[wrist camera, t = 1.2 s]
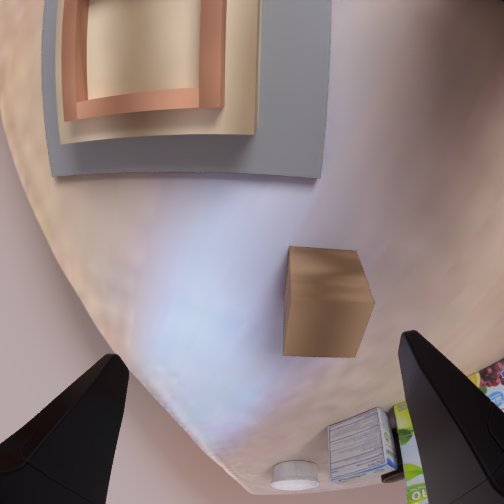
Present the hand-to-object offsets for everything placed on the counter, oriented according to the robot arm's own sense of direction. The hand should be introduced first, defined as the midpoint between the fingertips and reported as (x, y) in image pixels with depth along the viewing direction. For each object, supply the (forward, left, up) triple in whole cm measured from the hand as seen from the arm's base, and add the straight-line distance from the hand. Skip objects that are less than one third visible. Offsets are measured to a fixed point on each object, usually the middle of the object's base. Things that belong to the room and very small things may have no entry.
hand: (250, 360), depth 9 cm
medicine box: (-14, +30, -14) cm, 36 cm away
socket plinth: (+7, -11, -13) cm, 18 cm away
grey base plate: (+7, -11, -14) cm, 19 cm away
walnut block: (-4, +6, -14) cm, 16 cm away
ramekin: (-8, +50, -14) cm, 53 cm away
